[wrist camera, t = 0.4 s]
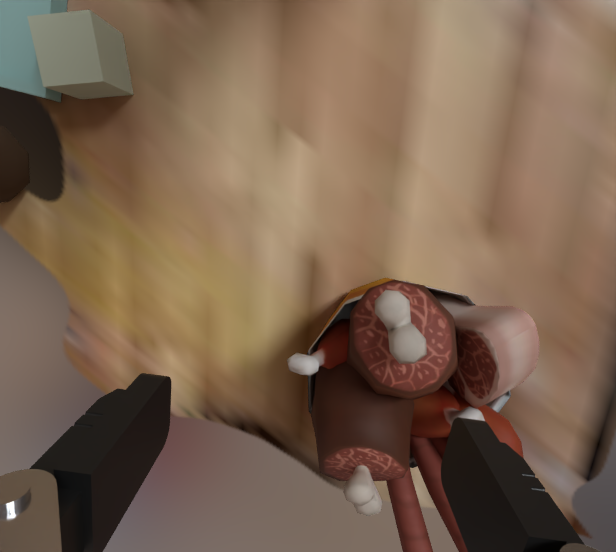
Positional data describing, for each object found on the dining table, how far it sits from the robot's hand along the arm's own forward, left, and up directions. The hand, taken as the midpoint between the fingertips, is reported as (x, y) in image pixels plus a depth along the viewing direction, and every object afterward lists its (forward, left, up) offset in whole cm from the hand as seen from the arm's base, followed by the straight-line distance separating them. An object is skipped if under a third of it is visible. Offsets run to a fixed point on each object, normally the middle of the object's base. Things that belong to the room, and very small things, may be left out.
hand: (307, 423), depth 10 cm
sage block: (-11, -23, -28) cm, 38 cm away
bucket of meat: (+7, +9, -28) cm, 31 cm away
